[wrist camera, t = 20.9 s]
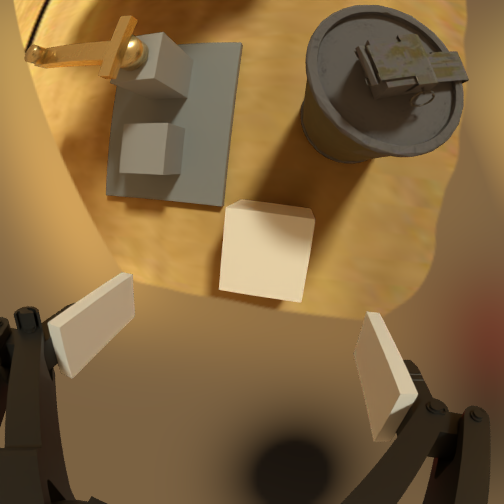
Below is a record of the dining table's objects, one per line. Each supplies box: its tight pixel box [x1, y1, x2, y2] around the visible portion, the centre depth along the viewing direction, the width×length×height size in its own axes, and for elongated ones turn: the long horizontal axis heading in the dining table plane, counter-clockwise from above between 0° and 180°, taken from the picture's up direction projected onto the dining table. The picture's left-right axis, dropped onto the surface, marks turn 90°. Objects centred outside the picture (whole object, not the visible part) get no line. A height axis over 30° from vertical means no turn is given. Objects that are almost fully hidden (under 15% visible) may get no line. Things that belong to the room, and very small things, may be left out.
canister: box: [301, 5, 469, 163], centre depth 21 cm, size 11×10×20 cm
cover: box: [219, 199, 315, 302], centre depth 31 cm, size 8×8×8 cm
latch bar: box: [25, 15, 149, 79], centre depth 20 cm, size 15×6×4 cm, turn 75°
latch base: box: [106, 32, 243, 206], centre depth 28 cm, size 20×16×10 cm
